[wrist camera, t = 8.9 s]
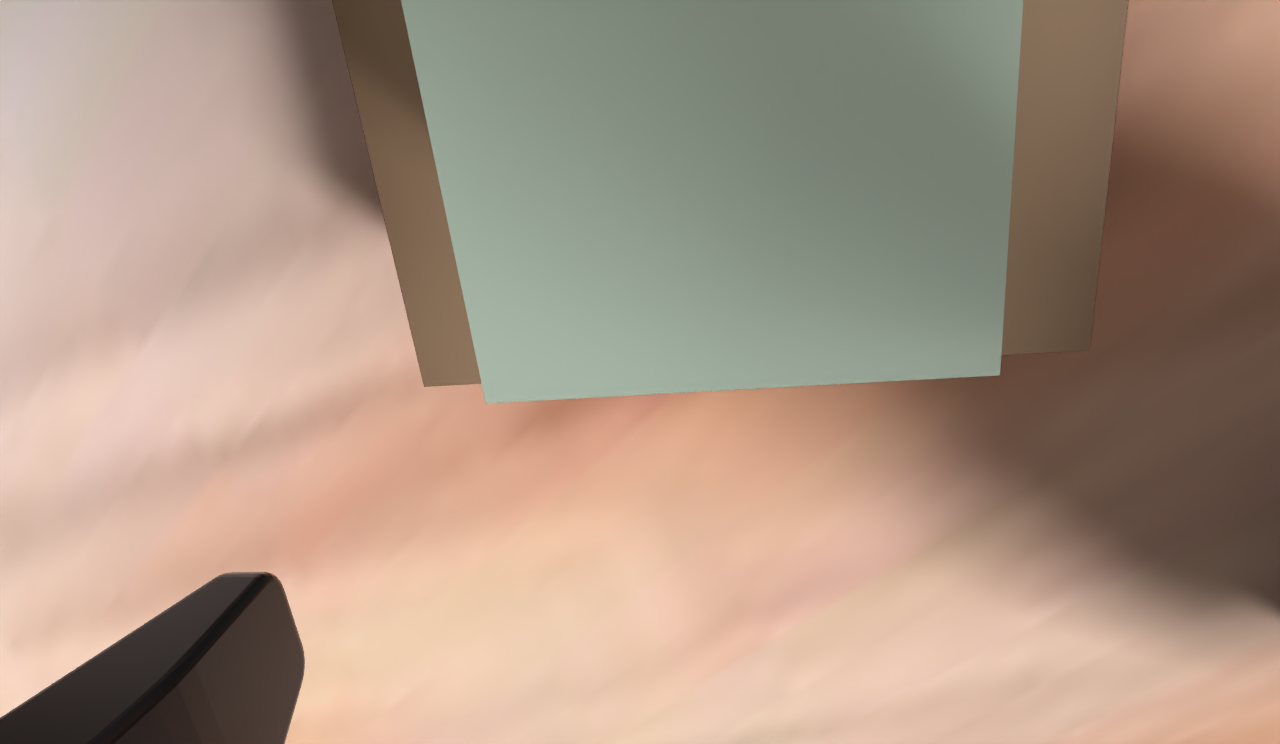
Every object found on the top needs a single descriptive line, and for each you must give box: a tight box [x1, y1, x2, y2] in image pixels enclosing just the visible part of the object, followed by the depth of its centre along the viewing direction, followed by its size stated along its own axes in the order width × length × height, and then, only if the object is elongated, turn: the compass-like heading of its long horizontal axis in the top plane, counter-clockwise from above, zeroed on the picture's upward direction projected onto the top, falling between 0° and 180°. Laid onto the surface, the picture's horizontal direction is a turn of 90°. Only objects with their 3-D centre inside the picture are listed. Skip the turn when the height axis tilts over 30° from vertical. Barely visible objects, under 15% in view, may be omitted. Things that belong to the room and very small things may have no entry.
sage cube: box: [401, 0, 1023, 403], centre depth 11 cm, size 5×5×5 cm
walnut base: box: [332, 0, 1129, 387], centre depth 15 cm, size 10×10×4 cm
